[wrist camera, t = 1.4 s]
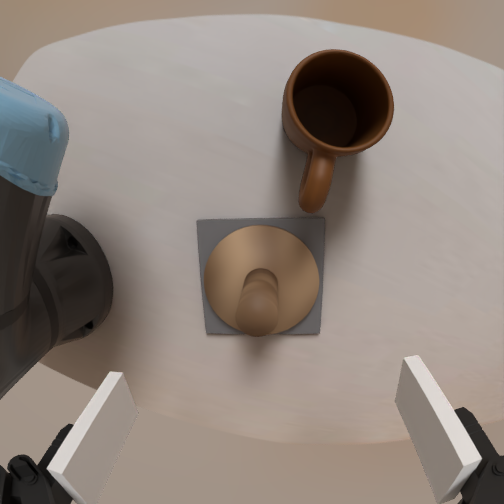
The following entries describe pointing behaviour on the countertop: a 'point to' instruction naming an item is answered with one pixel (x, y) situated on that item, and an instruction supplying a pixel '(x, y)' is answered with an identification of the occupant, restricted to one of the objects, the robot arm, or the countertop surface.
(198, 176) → the countertop surface
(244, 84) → the countertop surface
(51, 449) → the robot arm
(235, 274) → the lid
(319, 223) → the mat
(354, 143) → the mug
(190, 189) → the countertop surface
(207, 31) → the countertop surface
